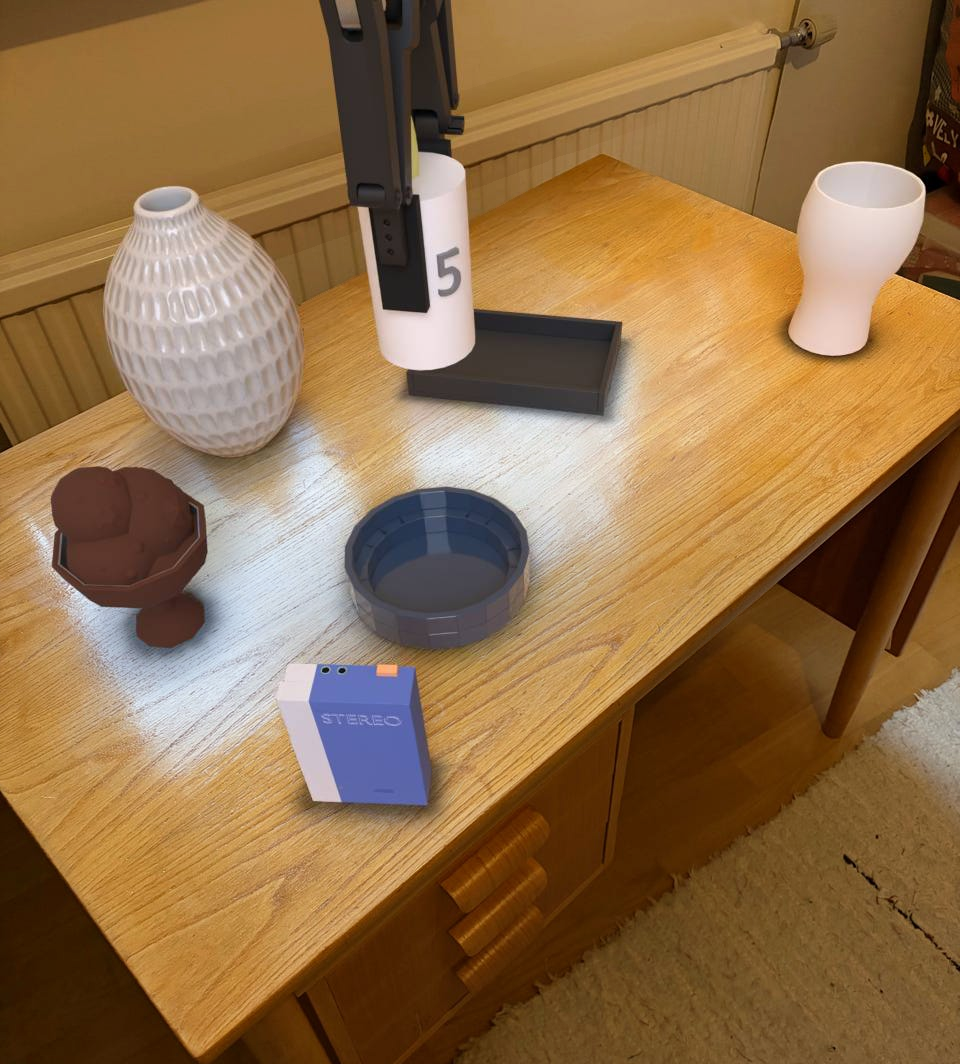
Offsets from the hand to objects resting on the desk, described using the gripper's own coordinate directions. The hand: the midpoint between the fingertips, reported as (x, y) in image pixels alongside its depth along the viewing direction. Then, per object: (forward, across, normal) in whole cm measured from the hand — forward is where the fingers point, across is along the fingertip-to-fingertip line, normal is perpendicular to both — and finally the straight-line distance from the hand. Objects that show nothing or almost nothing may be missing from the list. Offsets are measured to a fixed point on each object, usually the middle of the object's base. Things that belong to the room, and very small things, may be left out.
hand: (421, 276), depth 56 cm
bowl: (+25, +3, 0) cm, 25 cm away
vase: (+25, -12, -24) cm, 37 cm away
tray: (+25, -27, 0) cm, 37 cm away
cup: (+25, -38, +30) cm, 54 cm away
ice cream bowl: (+25, +11, -20) cm, 34 cm away
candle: (+5, 0, 0) cm, 5 cm away
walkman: (+25, +22, 0) cm, 33 cm away
